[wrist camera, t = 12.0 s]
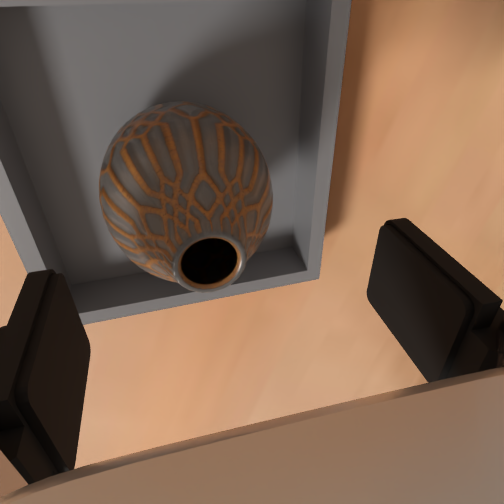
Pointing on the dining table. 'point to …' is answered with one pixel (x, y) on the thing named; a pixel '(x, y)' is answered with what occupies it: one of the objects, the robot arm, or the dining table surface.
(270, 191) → the vase
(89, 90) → the tray
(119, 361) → the dining table surface
